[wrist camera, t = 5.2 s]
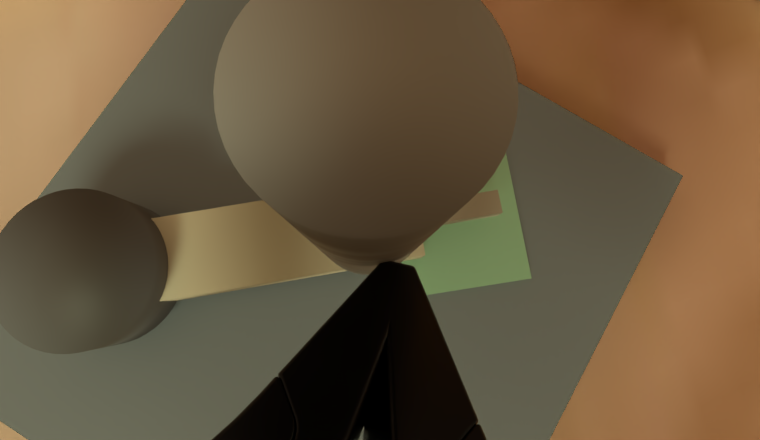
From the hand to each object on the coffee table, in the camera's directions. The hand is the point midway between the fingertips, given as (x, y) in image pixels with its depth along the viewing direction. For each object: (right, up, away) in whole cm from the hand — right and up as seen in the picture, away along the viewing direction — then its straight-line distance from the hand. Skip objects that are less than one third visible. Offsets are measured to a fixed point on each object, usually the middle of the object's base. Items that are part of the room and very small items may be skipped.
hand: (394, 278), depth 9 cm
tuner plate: (-2, 0, +7) cm, 8 cm away
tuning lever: (-4, 0, +6) cm, 7 cm away
